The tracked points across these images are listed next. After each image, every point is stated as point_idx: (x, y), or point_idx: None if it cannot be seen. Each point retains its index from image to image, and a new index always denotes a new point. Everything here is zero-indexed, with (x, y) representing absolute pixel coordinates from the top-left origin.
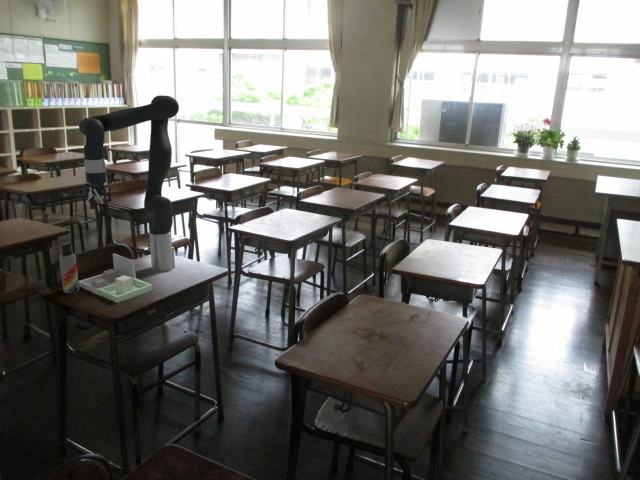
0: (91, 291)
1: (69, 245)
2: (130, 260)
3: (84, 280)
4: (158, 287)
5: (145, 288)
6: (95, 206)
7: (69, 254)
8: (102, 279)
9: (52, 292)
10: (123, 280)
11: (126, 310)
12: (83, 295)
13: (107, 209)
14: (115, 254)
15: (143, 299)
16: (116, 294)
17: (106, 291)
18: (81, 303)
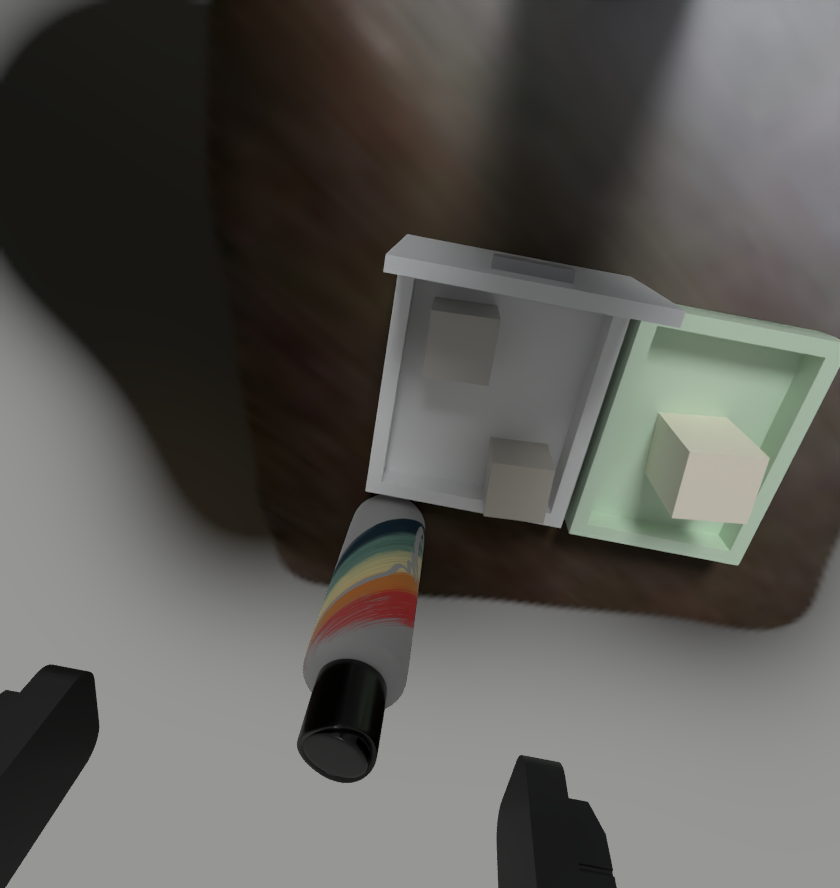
0: None
1: (376, 753)
2: (645, 320)
3: (383, 465)
4: (819, 254)
5: (819, 396)
6: (59, 719)
7: (385, 697)
8: (526, 474)
9: (325, 566)
10: (744, 517)
11: (806, 567)
12: (482, 533)
13: (597, 862)
14: (417, 270)
15: (821, 440)
16: None
17: (633, 536)
18: (548, 594)
